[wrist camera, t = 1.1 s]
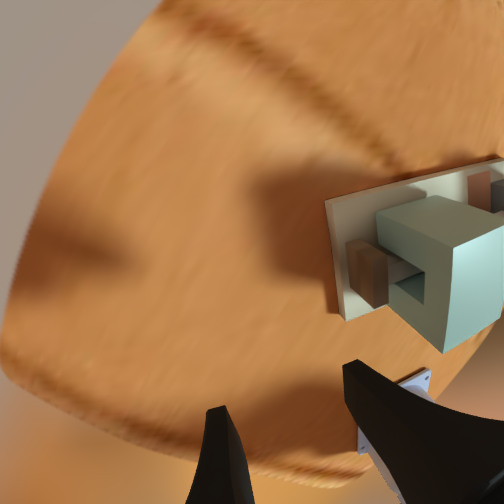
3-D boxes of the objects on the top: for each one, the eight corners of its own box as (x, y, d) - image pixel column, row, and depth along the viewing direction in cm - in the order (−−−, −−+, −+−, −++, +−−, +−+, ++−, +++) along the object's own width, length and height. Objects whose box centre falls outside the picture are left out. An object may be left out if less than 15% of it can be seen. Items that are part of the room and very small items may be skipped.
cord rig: (500, 243, 24) (548, 265, 18) (339, 314, 21) (384, 365, 16) (501, 157, 21) (556, 169, 15) (324, 200, 19) (381, 227, 13)
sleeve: (436, 276, 21) (499, 317, 15) (381, 300, 20) (442, 354, 14) (436, 194, 18) (513, 221, 12) (375, 212, 18) (453, 247, 12)
